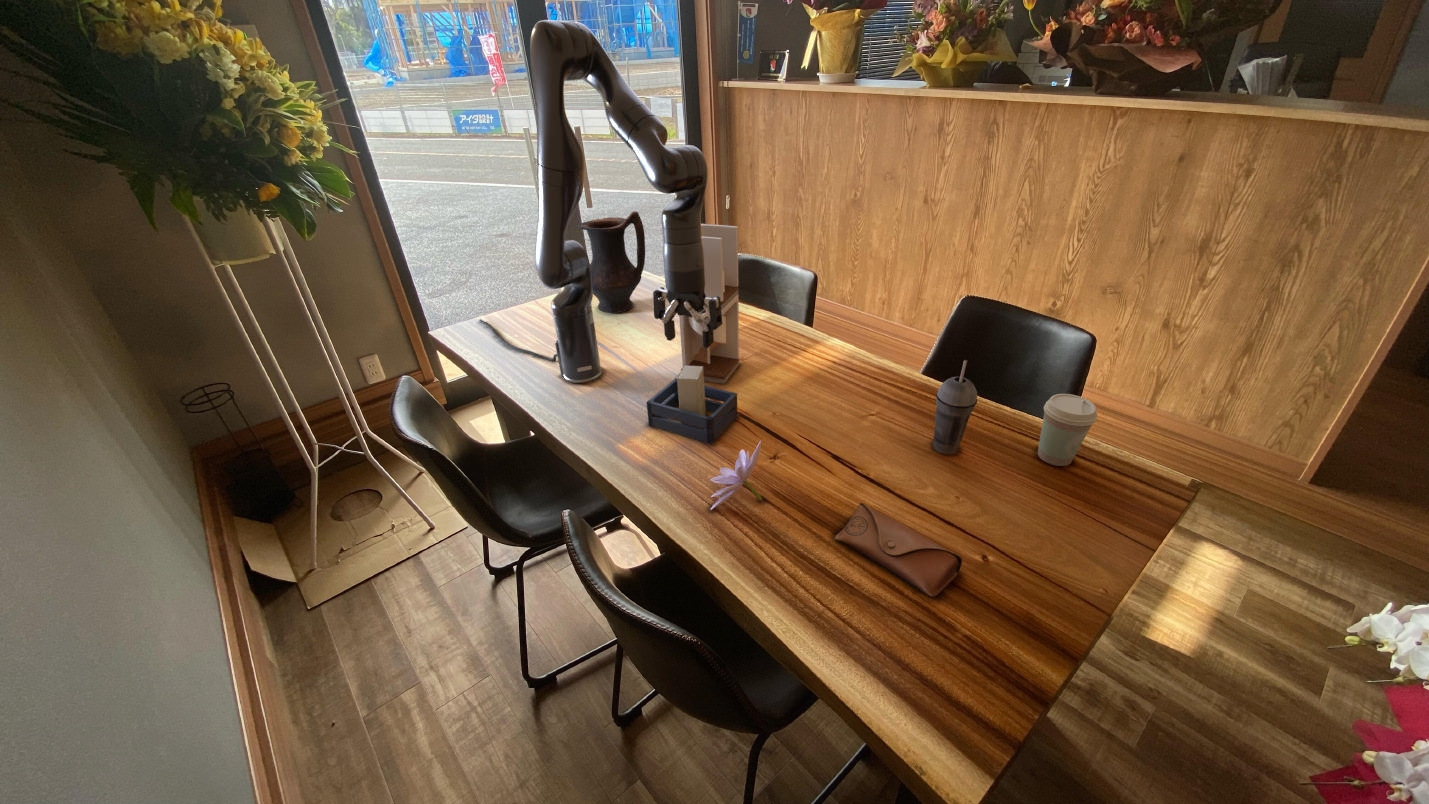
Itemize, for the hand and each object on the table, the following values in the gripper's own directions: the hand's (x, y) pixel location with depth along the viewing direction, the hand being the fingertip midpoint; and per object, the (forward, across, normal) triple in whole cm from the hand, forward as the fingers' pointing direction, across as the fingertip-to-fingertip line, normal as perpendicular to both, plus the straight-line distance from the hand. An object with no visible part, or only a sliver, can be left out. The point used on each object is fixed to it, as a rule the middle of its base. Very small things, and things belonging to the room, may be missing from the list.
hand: (689, 342), depth 115 cm
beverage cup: (+19, -50, -14) cm, 55 cm away
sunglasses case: (+19, -48, +19) cm, 55 cm away
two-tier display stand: (+19, +8, -22) cm, 30 cm away
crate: (+19, 0, 0) cm, 19 cm away
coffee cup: (+20, -69, -20) cm, 74 cm away
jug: (+19, +55, -46) cm, 74 cm away
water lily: (+19, -19, +17) cm, 32 cm away
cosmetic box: (+19, 0, 0) cm, 19 cm away
